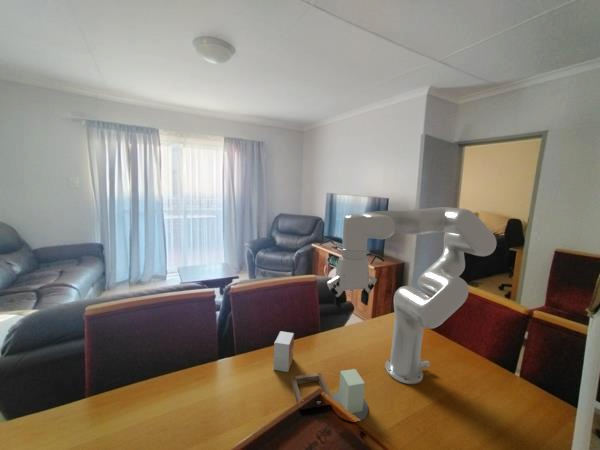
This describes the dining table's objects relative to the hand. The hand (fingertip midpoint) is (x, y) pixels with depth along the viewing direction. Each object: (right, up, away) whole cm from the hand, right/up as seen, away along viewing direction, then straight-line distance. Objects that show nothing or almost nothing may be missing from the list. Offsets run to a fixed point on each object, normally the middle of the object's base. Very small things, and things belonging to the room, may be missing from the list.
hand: (351, 305), depth 83 cm
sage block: (-2, -28, -6) cm, 29 cm away
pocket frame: (-13, -27, -2) cm, 30 cm away
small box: (-23, -25, +11) cm, 36 cm away
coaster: (-2, -28, -6) cm, 29 cm away
